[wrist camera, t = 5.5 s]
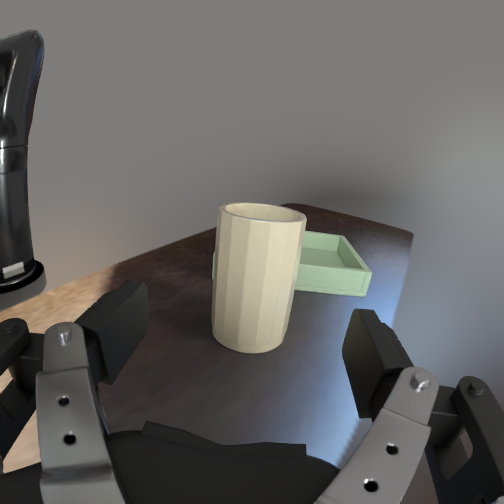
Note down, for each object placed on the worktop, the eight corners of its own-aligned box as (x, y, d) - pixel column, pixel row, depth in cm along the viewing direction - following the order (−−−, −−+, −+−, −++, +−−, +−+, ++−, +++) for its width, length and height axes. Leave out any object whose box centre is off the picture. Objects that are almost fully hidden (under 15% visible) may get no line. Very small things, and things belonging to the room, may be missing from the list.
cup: (204, 347, 21) (210, 215, 17) (218, 307, 27) (226, 199, 23) (285, 357, 21) (311, 227, 17) (284, 315, 26) (301, 208, 23)
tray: (211, 279, 32) (213, 253, 31) (230, 240, 46) (232, 221, 45) (365, 297, 31) (372, 272, 30) (340, 254, 45) (344, 236, 44)
